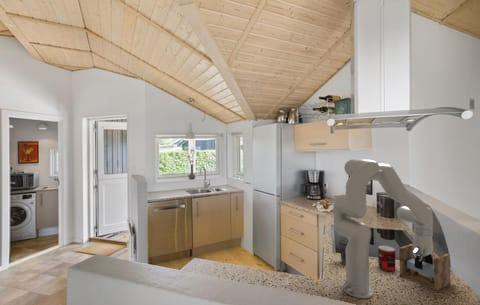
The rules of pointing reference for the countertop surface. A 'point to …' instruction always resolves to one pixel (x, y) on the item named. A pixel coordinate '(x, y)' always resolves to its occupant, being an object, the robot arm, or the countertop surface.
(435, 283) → the peg shelf
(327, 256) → the countertop surface
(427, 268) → the light blue block
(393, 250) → the canned food
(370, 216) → the countertop surface
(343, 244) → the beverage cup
